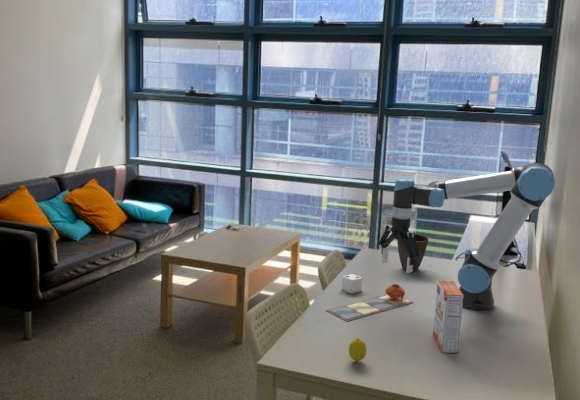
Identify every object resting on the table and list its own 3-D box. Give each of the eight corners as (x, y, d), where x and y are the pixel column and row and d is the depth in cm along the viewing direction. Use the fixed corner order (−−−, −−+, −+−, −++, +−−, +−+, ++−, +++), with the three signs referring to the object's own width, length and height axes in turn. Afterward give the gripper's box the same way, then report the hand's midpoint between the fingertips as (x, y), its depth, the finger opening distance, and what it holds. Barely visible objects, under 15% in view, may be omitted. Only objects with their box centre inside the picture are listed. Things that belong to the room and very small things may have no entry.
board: (413, 302, 236) (413, 301, 235) (346, 321, 214) (347, 320, 214) (392, 293, 245) (392, 292, 245) (326, 310, 223) (326, 309, 223)
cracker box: (431, 335, 205) (437, 279, 201) (448, 335, 205) (454, 280, 201) (440, 353, 192) (446, 293, 187) (458, 354, 191) (464, 294, 187)
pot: (403, 295, 241) (405, 281, 238) (404, 306, 234) (406, 292, 231) (383, 293, 242) (385, 279, 239) (384, 304, 235) (386, 290, 232)
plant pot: (393, 263, 287) (396, 232, 284) (424, 265, 285) (427, 234, 282) (395, 272, 273) (397, 240, 269) (426, 275, 271) (430, 242, 268)
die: (361, 291, 246) (362, 277, 245) (351, 293, 243) (352, 280, 242) (352, 286, 251) (352, 273, 250) (341, 289, 247) (342, 276, 246)
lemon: (346, 357, 186) (348, 334, 184) (363, 357, 186) (365, 334, 184) (349, 365, 180) (351, 342, 179) (367, 365, 181) (368, 342, 179)
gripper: (372, 211, 238) (368, 260, 242) (419, 225, 218) (413, 278, 223) (385, 209, 242) (381, 257, 246) (431, 223, 223) (426, 275, 227)
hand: (396, 267), depth 235 cm, fingers open, 13 cm apart
